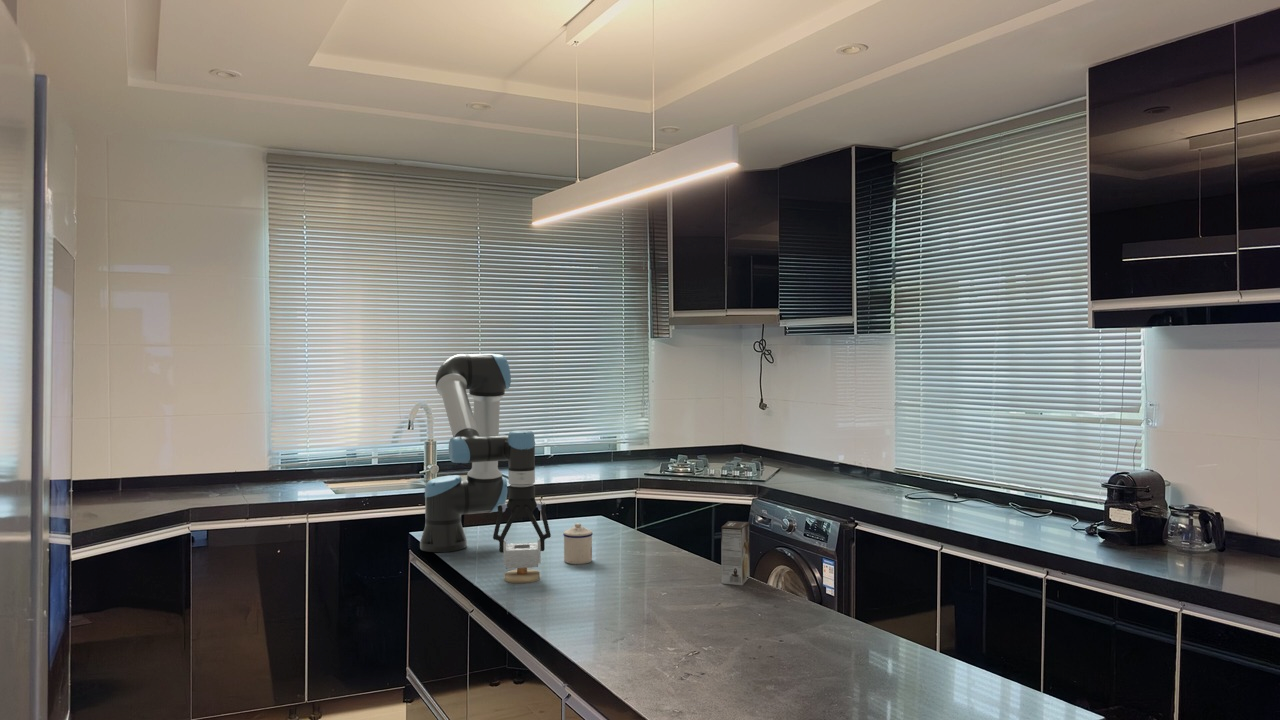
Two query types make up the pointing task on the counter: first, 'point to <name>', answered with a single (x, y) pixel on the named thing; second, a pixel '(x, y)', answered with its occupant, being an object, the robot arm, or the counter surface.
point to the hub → (522, 575)
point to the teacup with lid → (577, 545)
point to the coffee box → (735, 552)
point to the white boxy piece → (521, 555)
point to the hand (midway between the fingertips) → (522, 563)
